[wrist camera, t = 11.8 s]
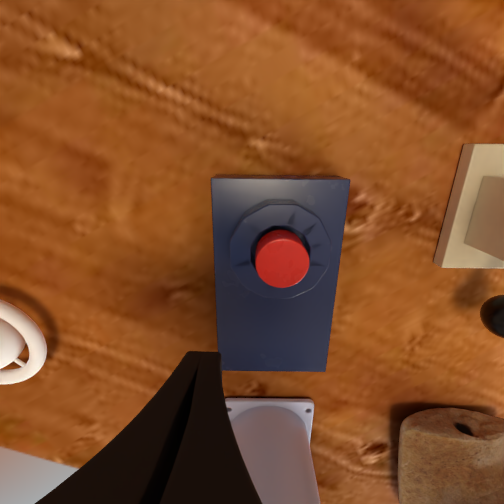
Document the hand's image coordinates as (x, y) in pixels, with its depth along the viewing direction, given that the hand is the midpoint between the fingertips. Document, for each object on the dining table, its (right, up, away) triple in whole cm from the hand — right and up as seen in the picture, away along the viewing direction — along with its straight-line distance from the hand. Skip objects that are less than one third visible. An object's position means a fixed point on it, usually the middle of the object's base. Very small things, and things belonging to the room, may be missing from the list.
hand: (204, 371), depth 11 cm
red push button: (+3, +5, +5) cm, 8 cm away
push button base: (+3, +3, +9) cm, 10 cm away
